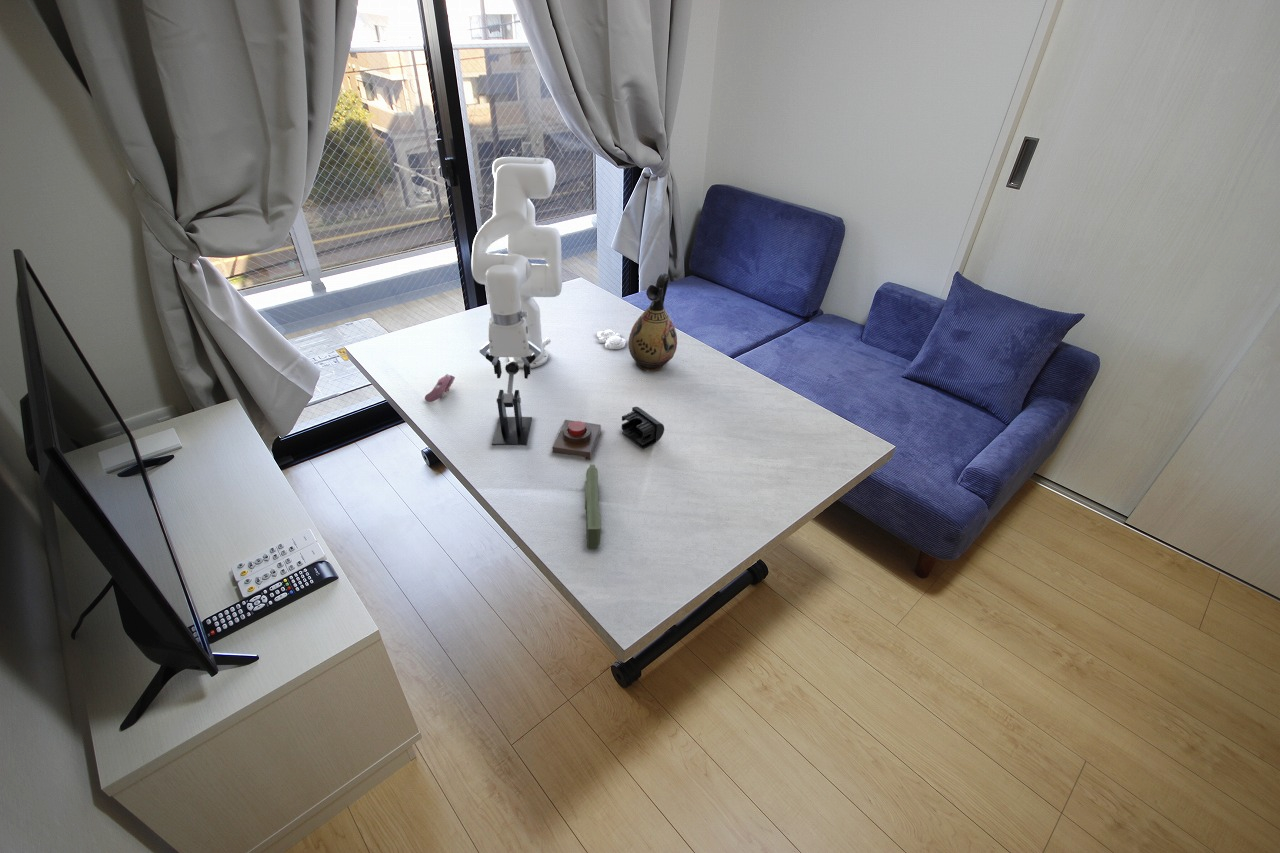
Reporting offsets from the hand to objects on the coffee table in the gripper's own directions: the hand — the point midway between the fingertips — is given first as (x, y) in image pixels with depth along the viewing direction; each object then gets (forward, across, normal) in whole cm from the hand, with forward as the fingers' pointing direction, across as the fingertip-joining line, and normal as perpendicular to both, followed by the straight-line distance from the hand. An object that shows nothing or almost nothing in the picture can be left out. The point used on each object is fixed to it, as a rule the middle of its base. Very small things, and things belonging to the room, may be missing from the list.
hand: (513, 375), depth 153 cm
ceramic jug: (+13, -40, -28) cm, 51 cm away
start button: (+9, -18, +13) cm, 24 cm away
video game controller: (+13, +23, -9) cm, 28 cm away
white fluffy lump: (+13, -26, -43) cm, 52 cm away
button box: (+13, -18, +13) cm, 25 cm away
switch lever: (+1, 0, +4) cm, 4 cm away
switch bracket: (+13, 0, +9) cm, 16 cm away
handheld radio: (+13, -22, +37) cm, 45 cm away
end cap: (+13, -35, +10) cm, 39 cm away
